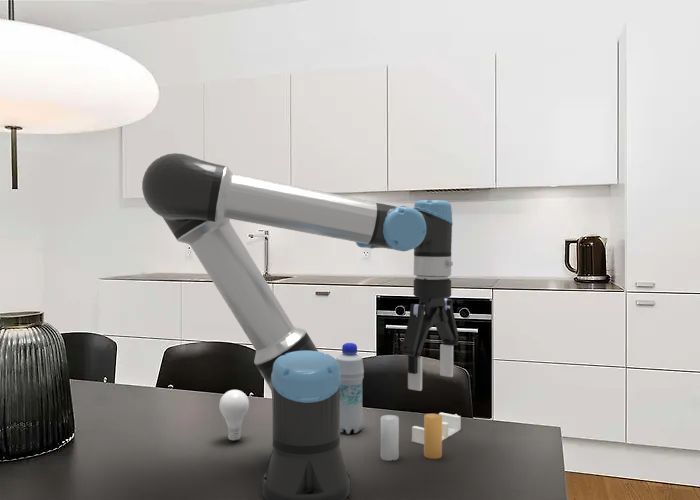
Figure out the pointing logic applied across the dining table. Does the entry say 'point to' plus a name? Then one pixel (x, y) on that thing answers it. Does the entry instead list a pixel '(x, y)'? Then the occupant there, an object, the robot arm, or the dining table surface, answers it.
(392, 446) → the grey plug
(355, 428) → the bottle
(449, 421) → the rack
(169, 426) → the dining table surface
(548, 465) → the dining table surface
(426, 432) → the orange plug
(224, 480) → the dining table surface
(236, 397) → the lightbulb
